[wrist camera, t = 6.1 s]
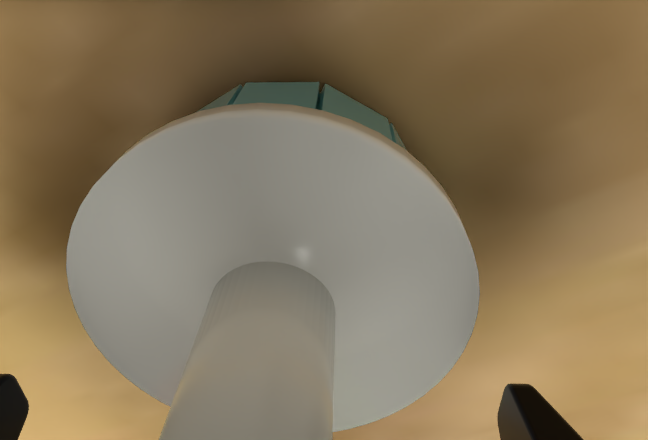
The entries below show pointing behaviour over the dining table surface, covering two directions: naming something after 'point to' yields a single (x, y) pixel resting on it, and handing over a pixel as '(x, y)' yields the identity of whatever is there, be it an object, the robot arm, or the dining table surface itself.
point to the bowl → (308, 102)
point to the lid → (273, 273)
